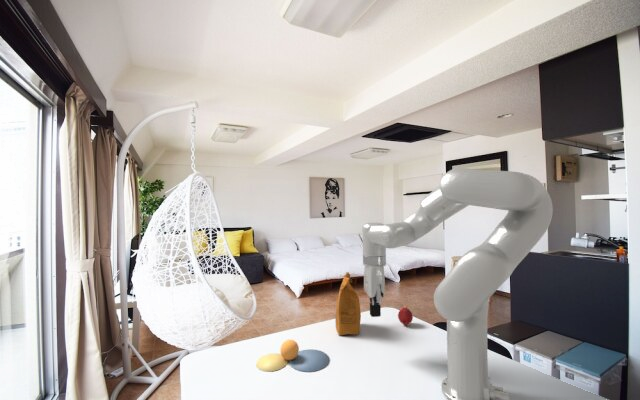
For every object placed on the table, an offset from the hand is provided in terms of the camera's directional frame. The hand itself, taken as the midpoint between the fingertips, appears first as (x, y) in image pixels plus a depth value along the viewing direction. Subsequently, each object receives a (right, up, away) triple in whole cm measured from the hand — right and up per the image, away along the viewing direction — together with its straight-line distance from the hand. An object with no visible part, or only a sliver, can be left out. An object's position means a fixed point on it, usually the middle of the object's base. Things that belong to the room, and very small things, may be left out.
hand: (375, 315), depth 96 cm
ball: (-28, -11, -1) cm, 30 cm away
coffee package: (-7, -14, +20) cm, 25 cm away
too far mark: (-34, -14, -3) cm, 37 cm away
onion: (+17, -14, +23) cm, 32 cm away
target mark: (-22, -14, -2) cm, 26 cm away
